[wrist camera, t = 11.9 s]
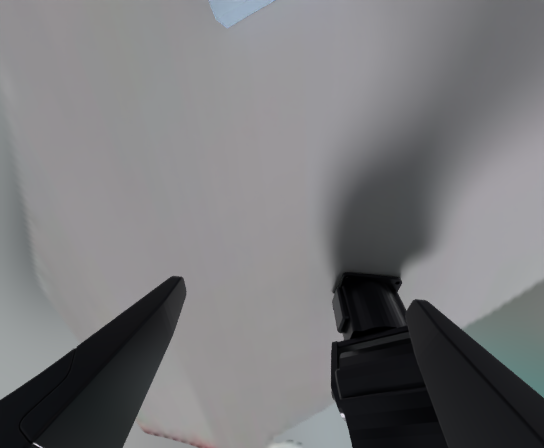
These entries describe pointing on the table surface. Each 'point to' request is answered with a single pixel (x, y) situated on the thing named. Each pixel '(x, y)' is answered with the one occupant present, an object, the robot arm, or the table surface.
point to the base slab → (235, 9)
